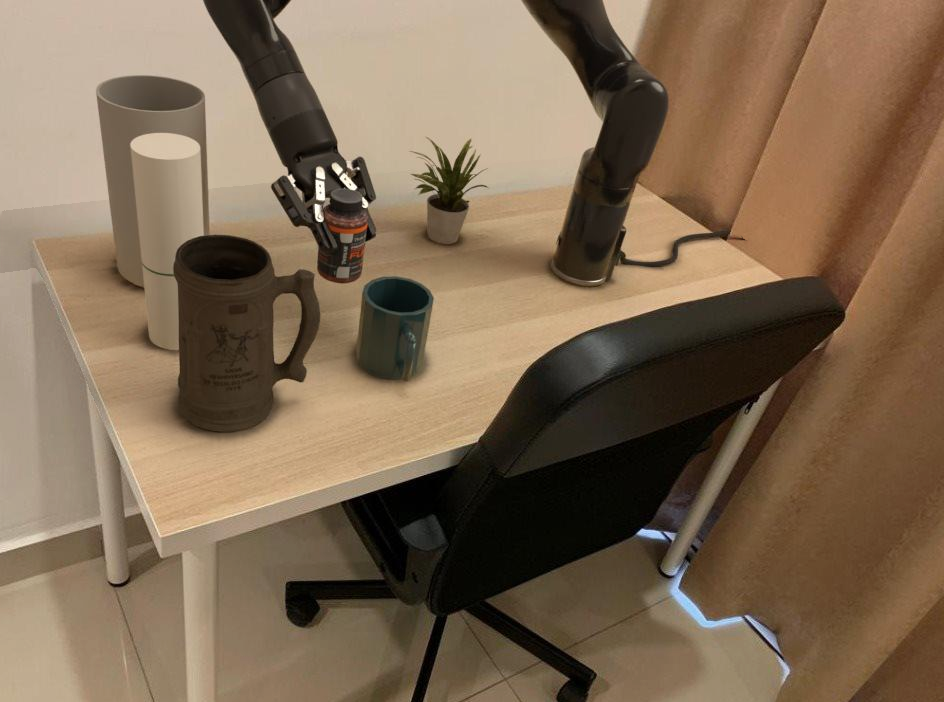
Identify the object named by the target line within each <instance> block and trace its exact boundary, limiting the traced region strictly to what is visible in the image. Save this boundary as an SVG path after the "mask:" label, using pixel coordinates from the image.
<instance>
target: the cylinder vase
mask: <svg viewBox="0 0 944 702" xmlns="http://www.w3.org/2000/svg"><path fill="white" fill-rule="evenodd" d="M95 95H96V101H97V111H98V118H99V127H100V128H99V129H100V133H101V134H100V136H101V143H102V152H103V160H104V168H105V175H106V178H105V179H106V185H107V193H108V201H109V211H110V217H111V227H112V234H113V235H112V236H113V242H114V244H113V245H114V252H115V259H116V266H117V267H116V268H117V270H118V272H119V273H120V275H121V276H122V277H123V278H124V280H126V281H127V282H129V283H132V284H133V285H134V286H138V287H141V288H144V279H143V269H142V259H141V249H140V239H139V229H138V218H137V208H136V198H135V187H134V177H133V167H132V157H131V146H130V143H131V141H132V140H133V139H135V138H137V137H138V136H142V135H145V134H151V133H172V134H178V135H183V136H186V137H189V138H191V139H193V140H195V141H196V142H197V143H199V145H200V152H201V177H202V202H203V227H204V236H206V235H211V234H210V233H211V231H210V205H209V203H210V202H209V201H210V200H209V176H208V175H209V174H208V173H209V172H208V148H207V147H208V145H207V143H208V142H207V116H206V95H205V93H204V91H203V90H202V89H201V88H200V87H197V85H194V84H192V83H189V82H187V81H184V80H181V79H177V78H172V77H167V76H160V75H149V74H147V75H146V74H136V75H123V76H116V77H112V78H109V79H107V80H104V81H102V82H101V83H99V84H98V85H97V86H96V88H95Z"/></svg>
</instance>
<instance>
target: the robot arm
mask: <svg viewBox="0 0 944 702" xmlns="http://www.w3.org/2000/svg"><path fill="white" fill-rule="evenodd" d="M520 1H521V3H522V4H523V5H524V7H525V8H526V10H527V12H528V13H529V14H530V16H531V17H532V18H533V20H534V21H535V23H536V24H537V25H538V26H539V28H540V29H541V30H542V31H543V32H544V34H545V35H546V36H547V38H548V39H549V40H550V41H551V42H552V43H553V44H554V45H555V46H556V48H558V49H559V51H561V53H562V54H563V55H564V56H565V57H566V59H567V60H568V62H569V64H570V65H571V67H572V69H573V71H574V72H575V74H576V76H577V78H578V79H579V82H580V83H581V85H582V87H583V89H584V92H585V94H586V96H587V97H588V99H589V102H590V104H591V106H592V108H593V111H594V113H595V114H596V115H597V117H598V118H599V119H600V121H601V122H602V124H601V127H600V130H599V134H598V137H597V140H596V143H595V144H594V147H593V146H592V147H590V148H586V150H584V152H583V153H582V155H581V158H580V162H579V165H578V169H577V172H576V175H575V179H574V183H573V187H572V191H571V194H570V198H569V202H568V205H567V208H566V212H565V215H564V220H563V223H562V227H561V229H560V232H559V234H558V237H557V238H556V242H555V245H556V249H555V252H554V254H553V257H552V260H551V264H550V268H551V271H552V272H553V273H554V274H555V275H556V276H557V277H558V278H560V279H561V280H563V281H565V282H567V283H569V284H573V285H576V286H581V287H597V286H601V285H602V284H604V282H608V281H611V278H612V276H613V273H614V270H615V267H617V266H618V265H619V262H621V263H622V264H625V265H629V266H638V267H646V268H657V267H664V266H668V265H670V264H673V263H674V262H676V260H678V256H679V246H680V244H683V243H685V242H688V241H691V240H698V239H710V238H718V237H724V236H730V235H729V234H730V232H731V230H732V229H725V230H719V231H714V232H701V233H694V234H687V235H684V236H682V237H680V238H678V239H676V240H675V241H674V243H673V246H672V255H671V257H669V258H666V259H663V260H657V261H637V260H631V259H628V258H627V255H626V252H624V251H623V250H621V249H622V246H623V243H624V240H625V237H626V234H627V228H626V227H625V225H624V224H625V221H626V218H627V215H628V211H629V209H630V206H631V202H632V199H633V197H634V196H633V195H634V193H635V190H636V187H637V184H638V181H639V179H640V176H641V175H642V174H643V172H644V171H645V170H646V169H647V167H648V165H649V164H650V162H651V159H652V157H653V155H654V151H655V149H656V146H657V145H658V141H659V139H660V136H661V133H662V132H663V128H664V126H665V123H666V121H667V120H666V119H667V117H668V111H669V107H670V106H669V105H670V97H669V92H668V89H667V88H666V86H665V84H664V83H663V82H662V81H661V80H660V79H659V78H658V77H656V76H655V75H654V74H653V73H652V72H651V71H650V70H648V69H647V68H646V67H645V66H644V65H643V64H641V63H640V61H639V60H637V58H636V57H635V55H633V54H632V52H631V51H630V50H629V48H628V47H627V46H626V45H625V43H624V42H623V40H622V38H621V37H620V36H619V35H618V33H617V31H616V30H615V28H614V27H613V25H612V23H611V21H610V18H609V15H608V13H607V10H606V6H605V2H604V0H520ZM202 2H203V4H204V7H205V9H206V11H207V14H208V15H209V17H210V19H211V21H212V22H213V24H214V25H215V27H216V29H217V31H219V34H220V35H221V36H222V39H223V40H224V41H225V43H226V44H227V46H228V47H229V49H230V51H231V52H232V54H233V55H234V56H235V58H236V60H237V62H238V63H239V65H240V67H241V71H242V73H243V76H244V78H245V80H246V82H247V84H248V87H249V89H250V91H251V93H252V96H253V98H254V101H255V102H256V106H257V109H258V112H259V116H260V118H261V120H262V123H263V125H264V127H265V129H266V131H267V134H268V135H269V138H270V139H271V142H272V145H273V146H274V149H275V151H276V154H277V155H278V158H279V160H280V162H281V164H282V165H283V167H285V168H287V175H281V176H280V177H278V178H277V179H276V180H274V181H273V182H272V183H271V184H270V188H271V190H272V192H273V194H274V196H275V197H276V199H277V201H278V202H279V204H280V205H281V207H282V209H283V210H284V212H285V214H286V216H287V217H288V219H289V221H290V222H291V224H292V226H294V227H295V228H299V227H307V228H308V229H309V230H310V232H311V234H312V235H313V237H314V240H315V242H316V244H317V248H318V247H319V249H320V250H321V251H322V252H323V251H324V253H325V254H326V255H329V254H332V253H333V252H335V251H337V250H338V246H337V244H336V241H335V239H334V237H333V235H332V233H331V230H330V228H329V226H328V224H327V221H326V222H323V220H324V212H323V208H324V205H325V203H326V199H330V194H331V192H332V191H333V190H335V189H340V188H341V189H342V188H345V189H352V190H354V191H357V192H359V193H360V194H361V195H362V197H363V200H362V209H363V210H364V211H365V212H366V214H367V216H368V224H367V233H366V242H369V241H371V240H373V239H375V238H376V237H377V227H376V225H375V223H374V220H373V218H372V216H371V213H370V211H369V206H370V205H371V204H372V202H374V201H375V200H376V199H377V195H376V191H375V188H374V185H373V183H372V180H371V176H370V173H369V169H368V167H367V163H366V160H365V158H364V157H362V156H357V157H356V158H354V159H346V158H344V157H343V156H342V155H341V153H340V152H339V149H338V148H339V147H338V146H339V145H338V143H339V141H338V139H337V136H336V134H335V131H334V130H333V128H332V125H331V123H330V120H329V118H328V116H327V113H326V111H325V110H324V107H323V104H322V103H321V101H320V98H319V95H318V94H317V91H316V90H315V88H314V86H313V85H312V83H311V81H310V80H309V78H308V76H307V73H306V72H305V70H304V67H303V65H302V62H301V60H300V58H299V56H298V54H297V52H296V49H295V47H294V45H293V44H292V42H291V41H290V39H289V38H288V37H287V35H286V34H285V33H284V32H283V31H282V30H281V29H280V28H279V26H278V25H277V23H276V22H275V19H276V18H277V17H278V16H279V15H280V14H281V13H282V12H283V11H284V10H285V9H286V8H287V6H288V5H289V4H290V3H291V2H292V0H202ZM296 189H298V190H299V191H300V192H301V197H300V196H299V194H298V192H297V190H296Z"/></svg>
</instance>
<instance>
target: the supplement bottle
mask: <svg viewBox="0 0 944 702" xmlns="http://www.w3.org/2000/svg"><path fill="white" fill-rule="evenodd" d="M362 200H363V197H362V195H361V194H360V193H359V192H357V191H354V190H352V189H345V188H342V189H341V188H340V189H335V190H333V191H332V192H331V194H330V198H329V200H328V201H329V204H327V205H325V206H323V212H324V220H323V222H326V221H327V224H328V226H329V228H330V230H331V233H332V235H333V237H334V239H335V241H336V244H337V246H338V250H337V251H335V252H333V253H332V254H329V255H326V254H325V253H324V251H323V252H322V251H321V250H320V249H319V247H318V246H317V248H318V249H317V261H316V263H317V266H316V270H317V273H318V275H319V276H320V277H321V278H322V279H325V280H326V281H327V282H331V283H335V284H350V283H353V282H356V281H357V280H359V279H360V278H361V277H362V273H363V266H364V258H365V257H364V256H365V249H366V242H367V241H366V233H367V224H368V216H367V214H366V212H365V211H364V210H363V209H362Z"/></svg>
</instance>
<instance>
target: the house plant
mask: <svg viewBox="0 0 944 702" xmlns="http://www.w3.org/2000/svg"><path fill="white" fill-rule="evenodd" d="M425 138H426V139H427V140H428V141H429V142H430V143H431V144H432V146H433V147H434V149H435V152H436V155H437V159H438V162H439V165H440V167H439V166H437V165H436V163H435V162H434V161H433V160H432V159H431V158H430V157H428V156H427V155H425V154H423V153H420V152H418V151H413V150H409V152H410V153H412V154H413V153H414V154H417V155H419V156H417V158H419V159H422V160H425V161H426V162H427V163H428V164H427V163H426V162H424V164H425V166H426V167H427V169H428V172H427V171H426V172H423V173H421V174H420V173H419V174H418V173H417V174H416V173H410V176H412V177H415V181H416V180H417V181H420V182H422V183H421V184H419V185H417V186H416V187H415V188H414V189H413V191H415V190H416V189H421V190H420V191H419V193H418V195H422V194H426V193H430V192H432V193H433V194H431V195H430V196H429V197H427V200H426V216H427V217H426V218H427V220H426V221H427V225H426V226H427V227H426V228H427V237H428V238H429V240H431V241H432V242H435V243H437V244H442V245H451V244H454V243H456V242H457V241H458V239H459V237H460V234H461V231H462V229H463V225H464V223H465V220H466V217H467V215H468V212H469V210H470V205H469V203H470V200H468V199H467V200H465V199H464V198H463V197H464V195H465V194H467V192H469V191H470V190H472V189H475V188H481V187H482V188H483V187H484V188H487V189H489V187H488V186H487V185H485V184H476V185H473V186H471V187H469V188H468V189H466V190H465V191H463V190H464V189H465V187H466V186H467V185H468V184H469V183H470V182H471V181H472V180H473V179H475V177H477V176H478V175H480V174H481V173H482V172H484V171H486V170H488V169H489V167H487V168H485V169H482V170H481V171H479V172H478V173H473V174H472V172H473V170H474V169H475V168H476V166H477V163H478V162H479V160H480V157H481V155H482V154H481V153H480V154H479V155H478V156H477V157H476V159H475V160H474V158H475V156H476V152H477V149H475V150H473V153H472V155H471V156H470V157H469V159H468V161H467V164H466V165H465V167H464V169H463V170H462V167H463V164H464V161H465V158H466V156H467V154H468V152H469V150H470V149H472V148H473V146H474V145H472V146H470V144H471V142H472V138H469V139H468V140H467V141H466V142H465V143H464V145H463V146H462V148H461V150H460V152H459V154H457V157H456V159H455V160H454V163H453V166H452V164H451V162H450V160H449V158H448V156H447V155H446V153H445V152H444V151H443V149H442V148H441V147H439V145H437V144H436V143H435V142H434V141H433V140H432V139H431V138H429V137H427V136H425ZM421 156H422V157H421ZM425 158H426V159H425ZM428 160H429V161H430V162H431V163H432V164H431V163H430V162H429V161H428ZM434 167H435V169H436V170H435V169H434ZM436 171H437V172H438V174H439V175H440V178H441V180H442V181H441V180H440V179H439V176H438V175H437V173H436ZM461 171H462V172H461ZM427 183H428V184H427ZM434 187H436V188H434ZM434 191H435V192H436V193H435V192H434Z"/></svg>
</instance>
